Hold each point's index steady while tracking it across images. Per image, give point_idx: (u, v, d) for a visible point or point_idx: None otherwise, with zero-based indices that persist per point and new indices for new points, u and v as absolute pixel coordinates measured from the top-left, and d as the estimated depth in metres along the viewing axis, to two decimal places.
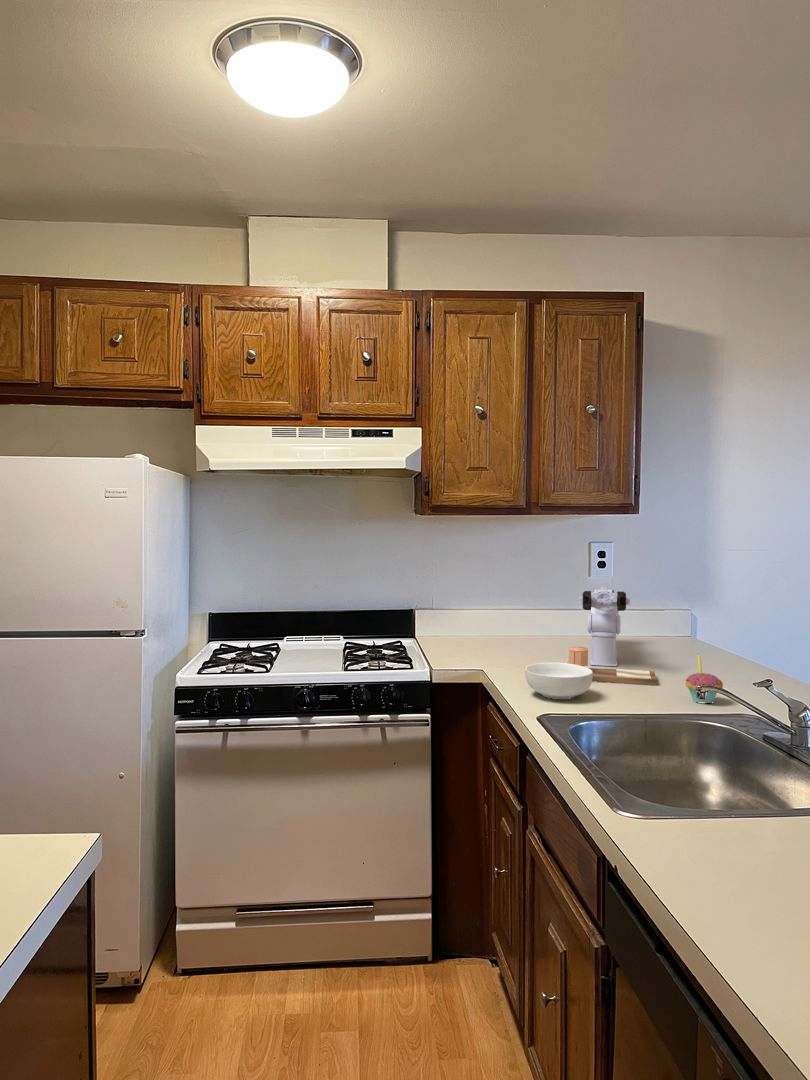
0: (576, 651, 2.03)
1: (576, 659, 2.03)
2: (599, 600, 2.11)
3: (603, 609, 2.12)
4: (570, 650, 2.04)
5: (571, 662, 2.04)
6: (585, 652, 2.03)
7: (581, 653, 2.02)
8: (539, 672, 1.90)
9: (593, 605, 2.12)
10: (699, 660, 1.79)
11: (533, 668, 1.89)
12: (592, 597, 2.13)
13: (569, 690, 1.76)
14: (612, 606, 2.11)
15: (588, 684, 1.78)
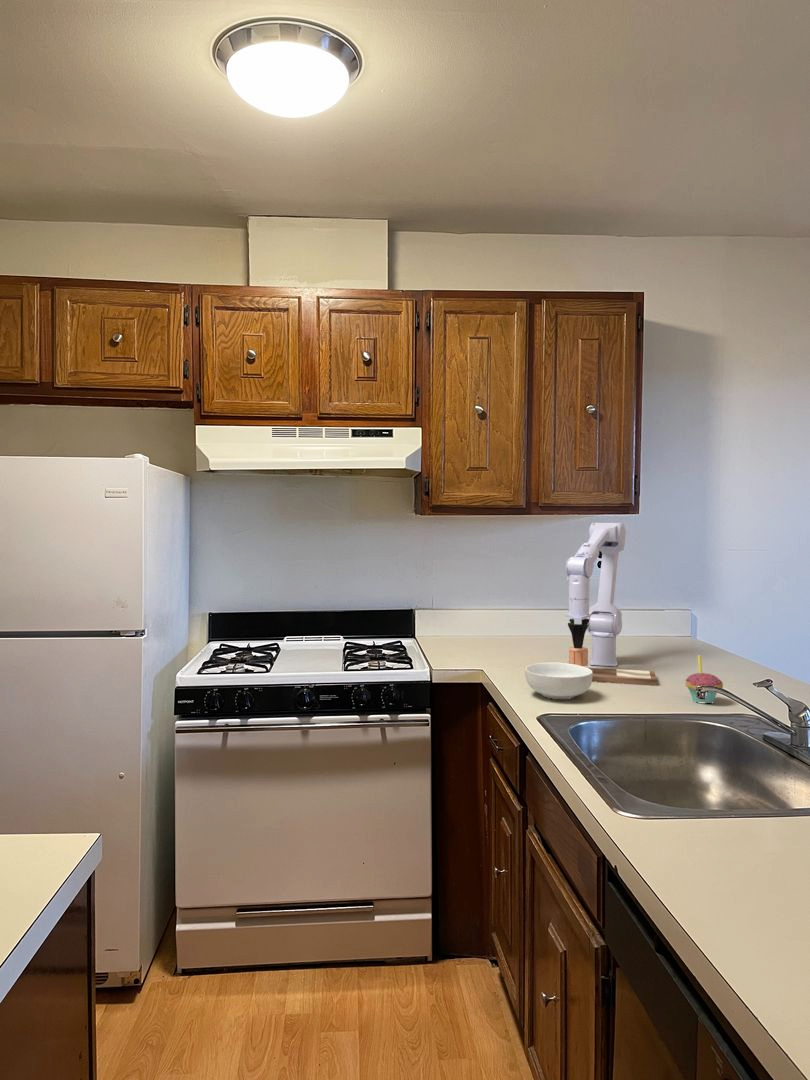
0: (576, 651, 2.03)
1: (576, 659, 2.03)
2: None
3: None
4: (570, 650, 2.04)
5: (571, 662, 2.04)
6: (585, 652, 2.03)
7: (581, 653, 2.02)
8: (539, 672, 1.90)
9: None
10: (699, 660, 1.79)
11: (533, 668, 1.89)
12: None
13: (569, 690, 1.76)
14: None
15: (588, 684, 1.78)
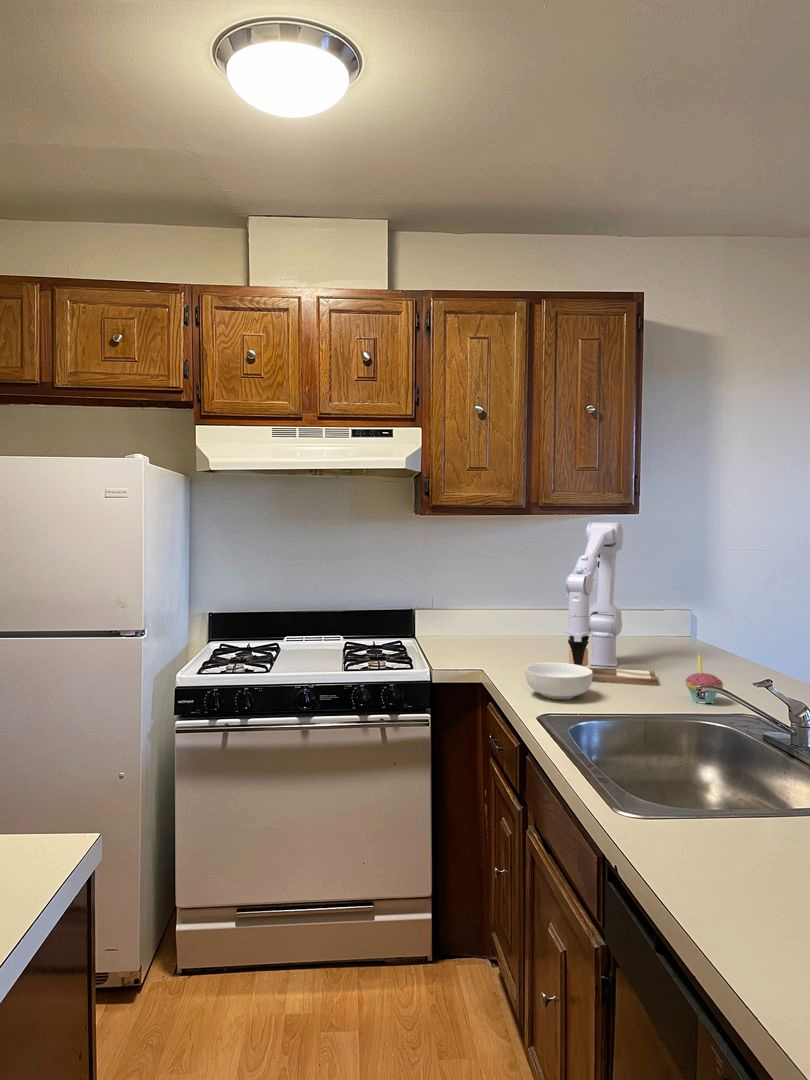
0: None
1: None
2: None
3: None
4: (570, 650, 2.04)
5: (571, 662, 2.04)
6: (585, 652, 2.03)
7: None
8: (539, 672, 1.90)
9: None
10: (699, 660, 1.79)
11: (533, 668, 1.89)
12: None
13: (569, 690, 1.76)
14: None
15: (588, 684, 1.78)
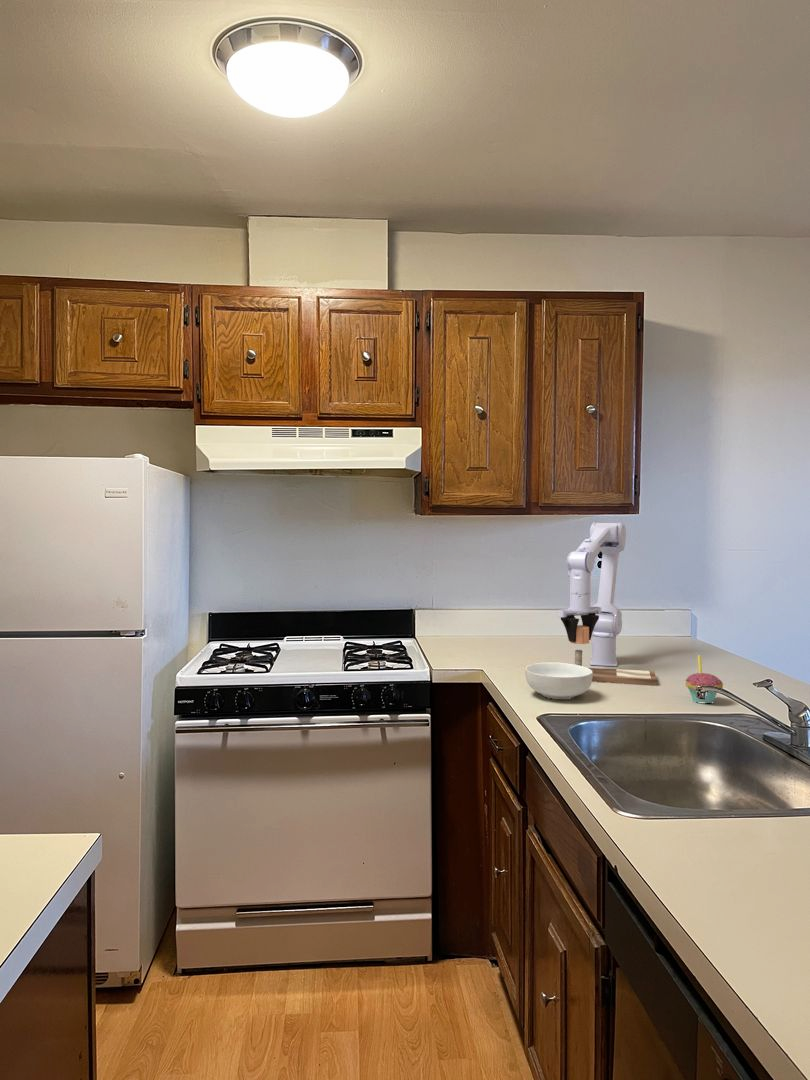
0: None
1: None
2: None
3: None
4: None
5: None
6: (580, 630, 2.02)
7: None
8: (539, 672, 1.90)
9: None
10: (699, 660, 1.79)
11: (533, 668, 1.89)
12: None
13: (569, 690, 1.76)
14: (577, 612, 2.02)
15: (588, 684, 1.78)
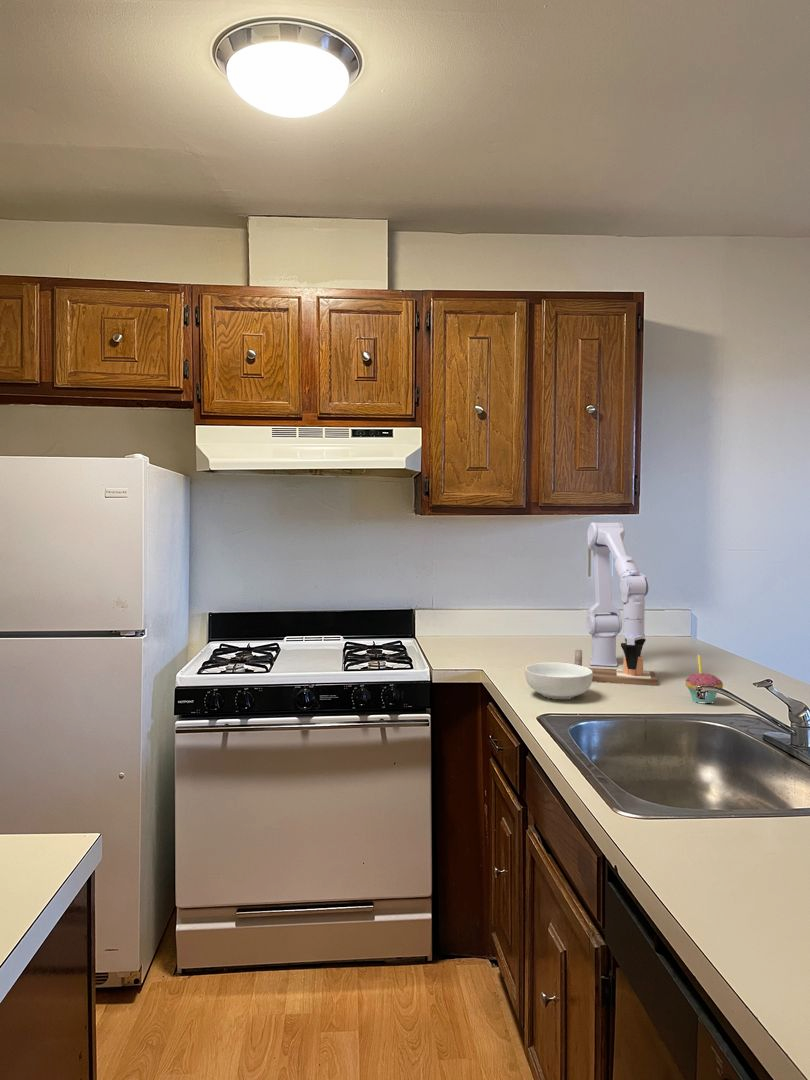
0: None
1: None
2: None
3: None
4: (624, 658, 2.01)
5: (625, 671, 2.00)
6: (640, 661, 1.99)
7: None
8: (539, 672, 1.90)
9: None
10: (699, 660, 1.79)
11: (533, 668, 1.89)
12: None
13: (569, 690, 1.76)
14: None
15: (588, 684, 1.78)
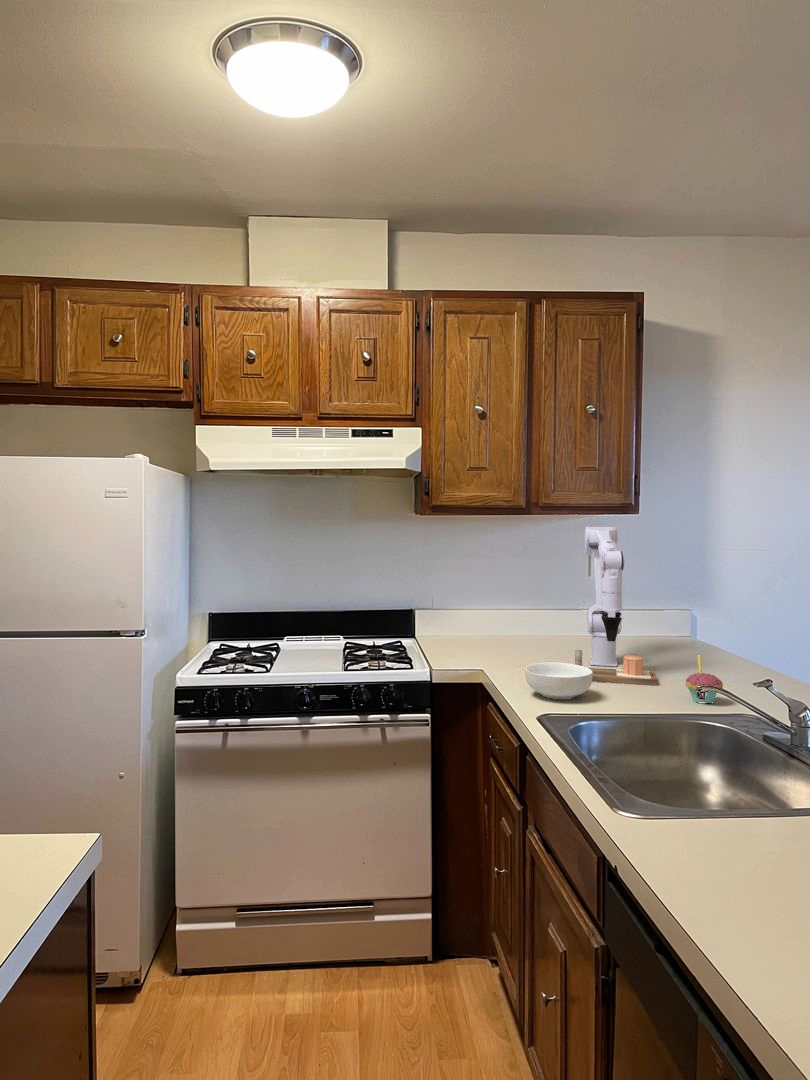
0: (630, 660, 1.99)
1: (630, 668, 1.99)
2: None
3: None
4: (624, 658, 2.01)
5: (625, 671, 2.00)
6: (640, 661, 1.99)
7: (635, 662, 1.98)
8: (539, 672, 1.90)
9: None
10: (699, 660, 1.79)
11: (533, 668, 1.89)
12: None
13: (569, 690, 1.76)
14: None
15: (588, 684, 1.78)
